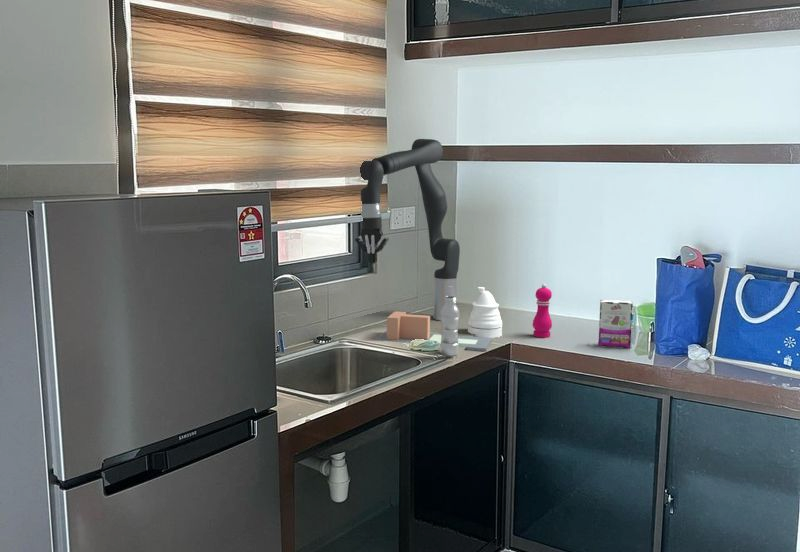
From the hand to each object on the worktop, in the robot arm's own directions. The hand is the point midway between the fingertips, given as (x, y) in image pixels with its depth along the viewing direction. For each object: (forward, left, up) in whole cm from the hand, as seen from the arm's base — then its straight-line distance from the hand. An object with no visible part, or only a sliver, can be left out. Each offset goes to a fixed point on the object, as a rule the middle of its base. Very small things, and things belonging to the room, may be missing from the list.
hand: (372, 263), depth 281 cm
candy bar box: (-11, +87, -27) cm, 92 cm away
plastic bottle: (+22, +33, -27) cm, 48 cm away
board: (+3, +24, -27) cm, 36 cm away
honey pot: (-15, +40, -27) cm, 51 cm away
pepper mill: (-19, +61, -27) cm, 69 cm away
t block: (+3, +15, -26) cm, 30 cm away
